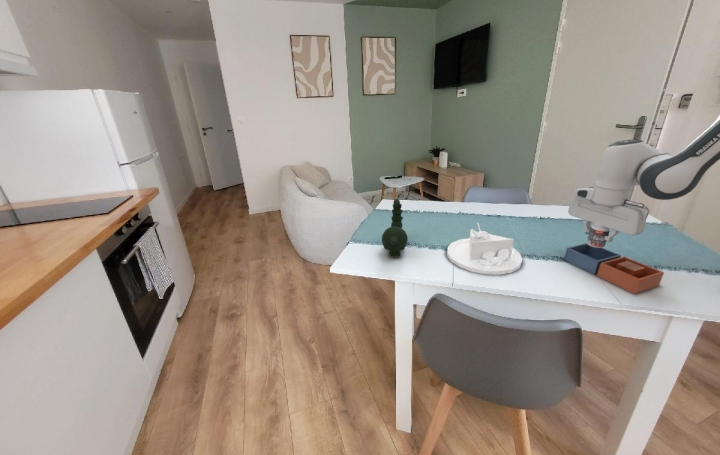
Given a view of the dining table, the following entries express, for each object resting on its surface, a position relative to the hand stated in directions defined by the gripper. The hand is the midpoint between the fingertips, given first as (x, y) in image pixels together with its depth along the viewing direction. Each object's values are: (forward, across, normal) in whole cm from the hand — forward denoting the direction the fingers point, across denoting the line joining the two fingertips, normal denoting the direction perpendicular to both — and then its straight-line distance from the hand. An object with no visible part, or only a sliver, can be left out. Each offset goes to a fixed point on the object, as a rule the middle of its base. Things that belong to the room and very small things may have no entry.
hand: (597, 237), depth 93 cm
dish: (+10, +18, +28) cm, 35 cm away
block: (+9, -11, 0) cm, 14 cm away
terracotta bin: (+10, -11, 0) cm, 15 cm away
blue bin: (+10, 0, 0) cm, 10 cm away
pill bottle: (+3, 0, 0) cm, 3 cm away
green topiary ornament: (+10, +36, +54) cm, 66 cm away
